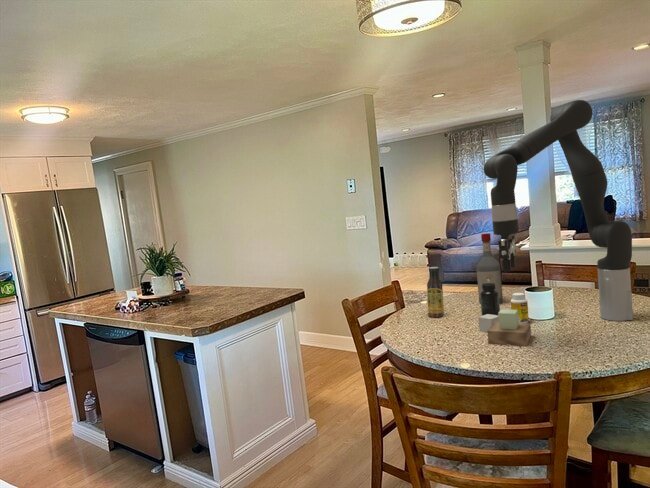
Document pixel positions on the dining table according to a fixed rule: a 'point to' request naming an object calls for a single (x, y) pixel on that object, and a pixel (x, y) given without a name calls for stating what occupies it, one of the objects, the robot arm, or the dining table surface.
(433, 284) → the sauce bottle
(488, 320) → the grey cube
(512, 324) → the sage cube
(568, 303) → the dining table surface
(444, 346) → the dining table surface
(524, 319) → the supplement bottle
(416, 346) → the dining table surface
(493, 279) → the liquor
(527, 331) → the walnut block
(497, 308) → the supplement bottle
